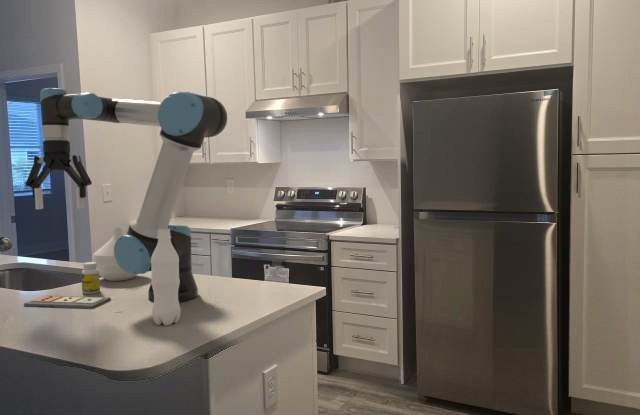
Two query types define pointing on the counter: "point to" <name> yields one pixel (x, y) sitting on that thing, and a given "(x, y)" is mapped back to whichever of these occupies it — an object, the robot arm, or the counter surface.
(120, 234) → the vase
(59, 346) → the counter surface
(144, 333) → the counter surface
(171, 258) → the water bottle
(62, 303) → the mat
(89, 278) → the supplement bottle
